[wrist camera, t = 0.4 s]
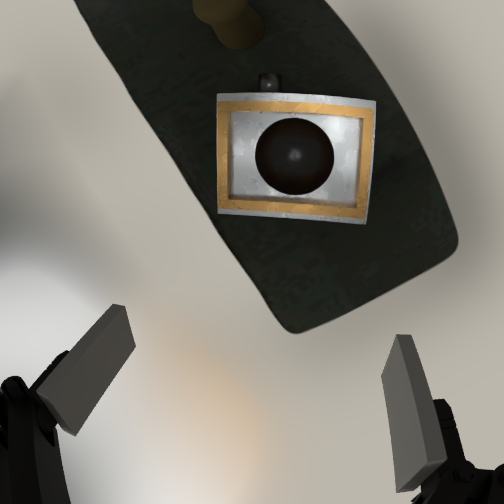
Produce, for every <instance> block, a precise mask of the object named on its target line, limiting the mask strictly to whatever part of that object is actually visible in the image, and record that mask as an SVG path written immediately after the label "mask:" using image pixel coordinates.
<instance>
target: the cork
mask: <svg viewBox="0 0 504 504" xmlns="http://www.w3.org/2000/svg"><path fill="white" fill-rule="evenodd" d="M192 5H193V10H194V13H195V14H196V16H197V17H198V18H199V19H200V20H202V21H203V22H205V23H207V24H210V25H211V26H212V28H213V30H214V32H215V33H216V35H217V37H218V39H219V40H220V42H221V43H222V44H223V45H225V46H226V47H228V48H231V49H238V50H241V49H246V48H249V47H251V46H253V45H255V44H256V43H257V42H258V41H260V40H261V38H262V36H263V34H264V30H265V25H264V21H263V19H262V18H261V16H260V15H259V14H258V13H257V12H256V11H255V10H254V9H253V8H252V7H251V6H250V5H249V4H248V3H247V0H193V2H192Z"/></svg>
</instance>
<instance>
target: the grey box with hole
mask: <svg viewBox="0 0 504 504" xmlns="http://www.w3.org/2000/svg"><path fill="white" fill-rule="evenodd" d="M375 118H376V101H370V100H363V99H355V98H346V97H336V96H325V95H311V94H293V93H281V75H278V74H259V82H258V93H223V94H217V198H218V214H235V215H252V216H267V217H282V218H296V219H309V220H321V221H333V222H344V223H355V224H366V221H367V213H368V205H369V196H370V187H371V177H372V166H373V153H374V138H375Z"/></svg>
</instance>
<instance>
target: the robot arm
mask: <svg viewBox="0 0 504 504" xmlns="http://www.w3.org/2000/svg"><path fill="white" fill-rule="evenodd" d="M135 347H136V346H135V342H134V338H133V335H132V331H131V328H130V324H129V320H128V316H127V312H126V309H125V306H121V305H116V304H112V306H111V307H110V308H109V309H108V310H107V311H106V312H105V313H104V314H103V315H102V316H101V317H100V318H99V319H98V320H97V322H96V323H95V324H94V325H93V326H92V327H91V328H90V329H89V330H88V331H87V333H86V334H85V335H84V336H83V337H82V338H81V339H80V340H79V341H78V342H77V344H76V345H75V346H74V347H73V348H72V349H71V350H70V351H67V350H66V351H64V352H63V353H61V354H59V355H58V356H57V357H56V358H55V359H54V361H52V364H50V365H49V366H48V367H47V369H46V370H45V371H44V372H43V373H42V374H41V375H40V376H39V378H38V379H37V380H36V381H35V382H34V383H33V385H32V386H31V387H30V388H29V389H28V387H27V386H26V384H25V382H24V381H23V379H22V378H21V377H19V376H11V377H8V378H7V379H6V380H4V381H3V383H2V384H1V387H0V389H1V390H0V504H71V502H70V498H69V494H68V490H67V485H66V481H65V476H64V471H63V466H62V460H61V454H60V448H59V441H58V434H57V430H56V428H55V426H56V425H57V423H58V424H59V425H60V427H61V428H62V429H63V430H64V431H66V432H68V433H69V434H72V435H73V436H76V435H77V433H78V432H79V430H80V429H81V427H82V426H83V424H84V422H85V421H86V419H87V418H88V416H89V415H90V413H91V412H92V410H93V409H94V407H95V406H96V404H97V403H98V401H99V400H100V398H101V397H102V395H103V394H104V392H105V391H106V389H107V388H108V386H109V385H110V383H111V382H112V380H113V379H114V378H115V376H116V375H117V373H118V372H119V370H120V369H121V367H122V366H123V364H124V363H125V362H126V360H127V359H128V357H129V356H130V354H131V353H132V352H133V350H134V348H135ZM381 378H382V383H383V388H384V394H385V401H386V407H387V413H388V420H389V427H390V435H391V443H392V451H393V460H394V470H395V482H396V493H400V492H407V491H413V490H415V489H416V488H417V487H418V486H420V485H421V493H419V494H418V495H417V496H416V497H415V498H413V499H412V500H411V502H413V503H412V504H504V464H502V465H500V466H498V467H497V468H496V469H495V470H485V469H477V468H475V466H474V465H473V464H472V463H471V462H469V461H467V460H466V459H465V456H464V452H463V448H462V444H461V441H460V437H459V433H458V430H457V428H456V423H455V420H454V416H453V413H452V409H451V407H450V406H449V405H448V403H447V402H446V401H445V399H435V400H433V399H432V396H431V393H430V389H429V386H428V383H427V379H426V377H425V373H424V370H423V367H422V364H421V361H420V358H419V355H418V352H417V349H416V347H415V344H414V341H413V339H412V336H411V335H399V334H397V335H396V337H395V340H394V343H393V346H392V348H391V351H390V354H389V357H388V359H387V362H386V365H385V367H384V370H383V373H382V375H381Z"/></svg>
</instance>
